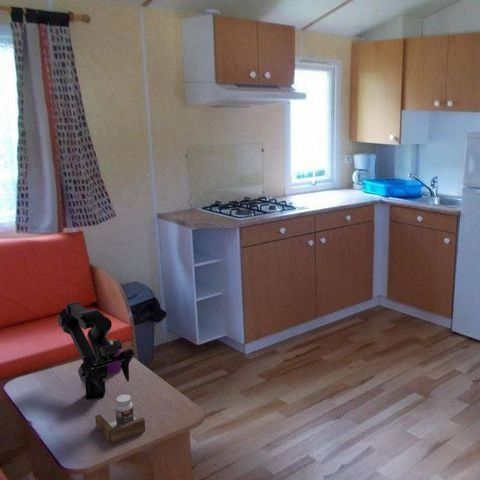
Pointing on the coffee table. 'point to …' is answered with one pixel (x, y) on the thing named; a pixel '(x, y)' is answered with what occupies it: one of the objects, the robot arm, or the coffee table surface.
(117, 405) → the pill bottle
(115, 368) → the beverage can
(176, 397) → the coffee table surface
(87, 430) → the coffee table surface
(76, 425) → the coffee table surface
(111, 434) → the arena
